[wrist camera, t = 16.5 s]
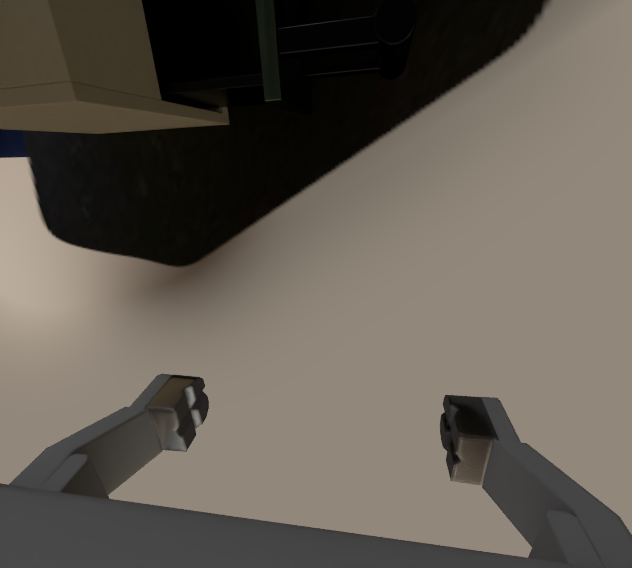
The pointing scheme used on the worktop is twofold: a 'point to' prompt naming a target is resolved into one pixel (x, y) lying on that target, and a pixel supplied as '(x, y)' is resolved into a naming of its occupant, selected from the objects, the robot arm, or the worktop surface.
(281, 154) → the worktop surface
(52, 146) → the worktop surface
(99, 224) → the worktop surface
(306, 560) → the robot arm
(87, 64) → the cube with dark spot
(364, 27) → the door with handle
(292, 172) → the worktop surface
